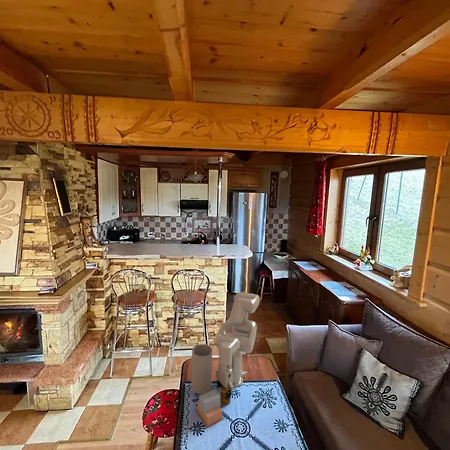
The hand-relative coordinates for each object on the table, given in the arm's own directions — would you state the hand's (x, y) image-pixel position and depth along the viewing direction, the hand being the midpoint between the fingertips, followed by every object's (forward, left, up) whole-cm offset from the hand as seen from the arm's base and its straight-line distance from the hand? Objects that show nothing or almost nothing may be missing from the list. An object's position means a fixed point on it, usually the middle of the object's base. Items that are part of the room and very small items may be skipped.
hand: (223, 392), depth 155 cm
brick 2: (+11, +4, -6) cm, 13 cm away
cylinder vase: (+5, -17, -7) cm, 20 cm away
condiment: (-1, 0, -7) cm, 7 cm away
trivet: (+11, +4, -7) cm, 14 cm away
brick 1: (+11, +4, -1) cm, 12 cm away
